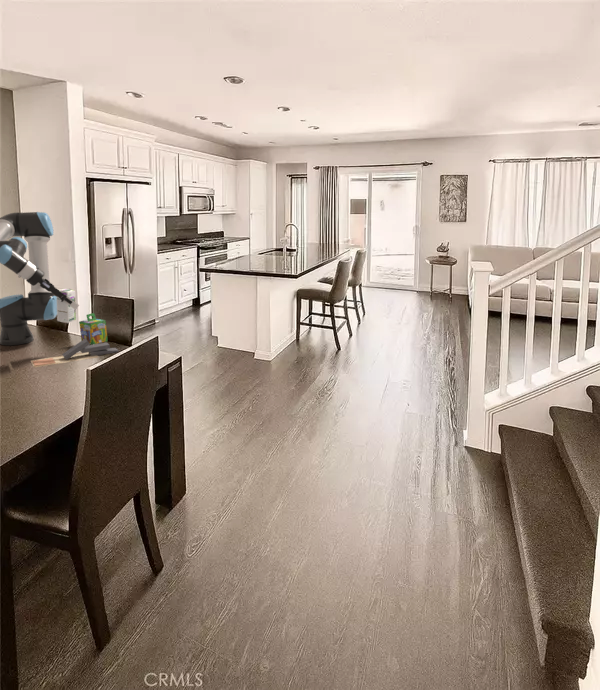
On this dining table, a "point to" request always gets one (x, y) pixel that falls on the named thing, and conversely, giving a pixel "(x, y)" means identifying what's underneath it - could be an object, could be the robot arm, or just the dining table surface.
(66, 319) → the syrup box
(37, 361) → the birch board
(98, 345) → the domino
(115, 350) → the domino
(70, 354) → the domino
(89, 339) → the chalk box
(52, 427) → the dining table surface
